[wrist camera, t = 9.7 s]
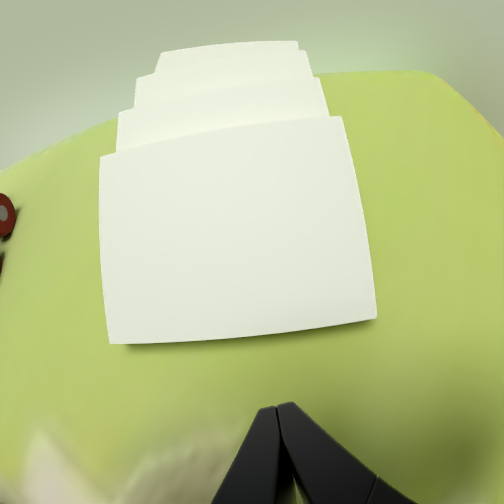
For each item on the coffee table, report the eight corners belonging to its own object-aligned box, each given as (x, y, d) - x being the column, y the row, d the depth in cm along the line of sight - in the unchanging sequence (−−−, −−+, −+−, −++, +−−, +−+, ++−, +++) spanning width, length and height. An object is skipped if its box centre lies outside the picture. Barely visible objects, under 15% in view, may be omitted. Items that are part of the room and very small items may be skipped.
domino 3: (354, 234, 15) (318, 77, 17) (117, 264, 16) (118, 112, 17) (345, 239, 17) (315, 94, 19) (132, 266, 18) (130, 125, 19)
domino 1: (308, 115, 20) (297, 40, 23) (137, 127, 22) (161, 52, 24) (306, 131, 22) (296, 56, 25) (146, 141, 23) (166, 66, 26)
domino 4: (377, 318, 13) (341, 115, 14) (109, 343, 14) (100, 157, 15) (365, 313, 15) (334, 133, 16) (127, 337, 16) (116, 168, 17)
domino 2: (334, 169, 18) (305, 50, 19) (130, 197, 19) (136, 78, 20) (329, 179, 20) (303, 65, 21) (142, 204, 21) (145, 91, 22)
